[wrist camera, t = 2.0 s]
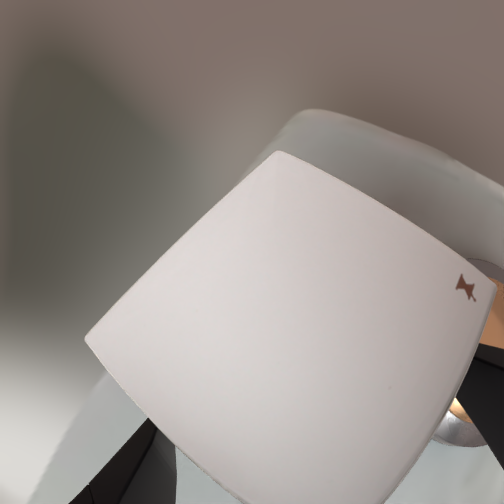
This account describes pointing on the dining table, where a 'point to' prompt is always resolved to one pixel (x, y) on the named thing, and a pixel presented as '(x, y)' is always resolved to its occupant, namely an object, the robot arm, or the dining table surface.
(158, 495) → the robot arm
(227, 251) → the supplement box
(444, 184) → the dining table surface
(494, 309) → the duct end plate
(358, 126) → the dining table surface
